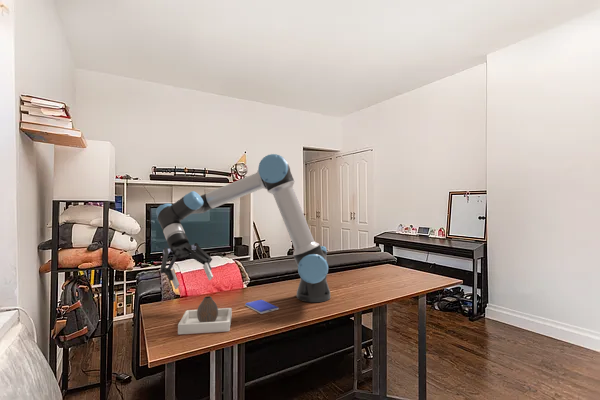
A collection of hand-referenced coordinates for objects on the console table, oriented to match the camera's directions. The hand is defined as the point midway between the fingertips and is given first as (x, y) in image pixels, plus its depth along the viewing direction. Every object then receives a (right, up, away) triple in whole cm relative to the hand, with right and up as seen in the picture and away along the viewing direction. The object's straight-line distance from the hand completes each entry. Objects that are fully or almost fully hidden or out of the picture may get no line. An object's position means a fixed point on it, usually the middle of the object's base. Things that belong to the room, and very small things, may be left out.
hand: (195, 282), depth 115 cm
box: (+7, -12, -9) cm, 17 cm away
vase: (+7, -12, -9) cm, 16 cm away
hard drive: (+24, -13, +9) cm, 29 cm away
